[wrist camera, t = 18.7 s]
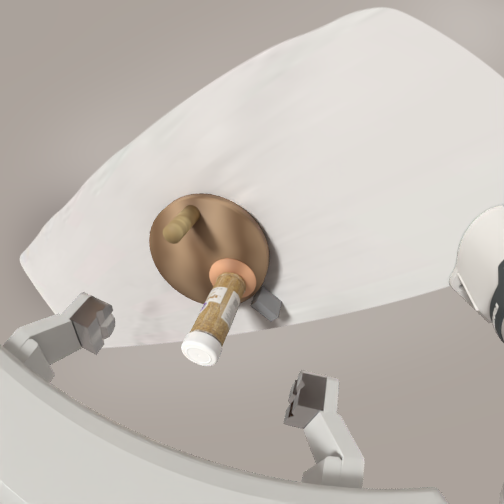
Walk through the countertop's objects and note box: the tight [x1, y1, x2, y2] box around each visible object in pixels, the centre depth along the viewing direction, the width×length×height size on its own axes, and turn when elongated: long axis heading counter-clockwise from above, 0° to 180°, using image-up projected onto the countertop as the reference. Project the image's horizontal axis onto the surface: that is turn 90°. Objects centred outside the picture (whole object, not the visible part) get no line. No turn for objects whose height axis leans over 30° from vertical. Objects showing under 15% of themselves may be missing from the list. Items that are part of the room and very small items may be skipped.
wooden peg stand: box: [149, 194, 269, 304], centre depth 41 cm, size 18×18×8 cm
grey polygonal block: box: [251, 286, 282, 322], centre depth 46 cm, size 4×2×4 cm, turn 49°
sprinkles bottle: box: [181, 272, 246, 366], centre depth 38 cm, size 5×5×14 cm
